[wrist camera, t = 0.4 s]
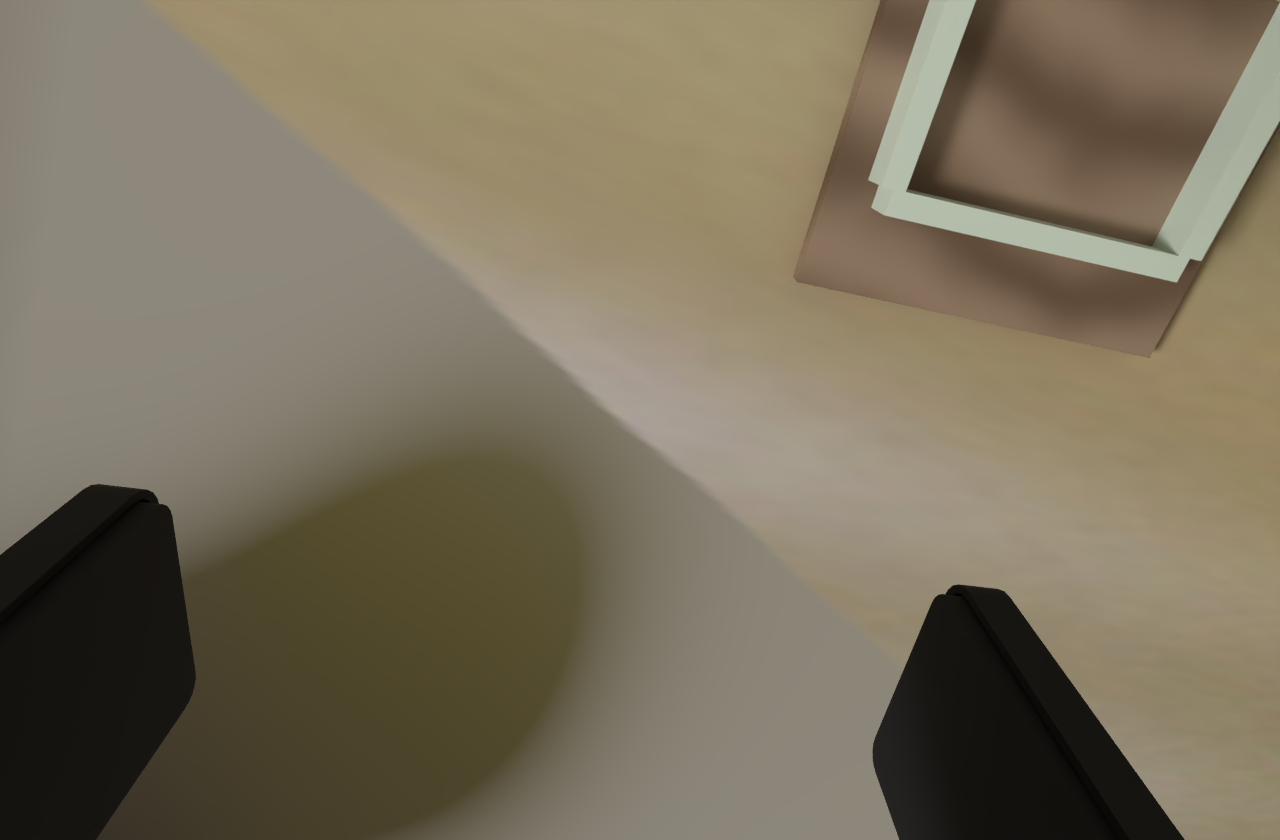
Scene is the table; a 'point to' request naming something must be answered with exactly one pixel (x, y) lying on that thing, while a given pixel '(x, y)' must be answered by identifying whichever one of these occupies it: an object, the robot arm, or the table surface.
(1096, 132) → the jig board
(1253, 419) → the table surface
